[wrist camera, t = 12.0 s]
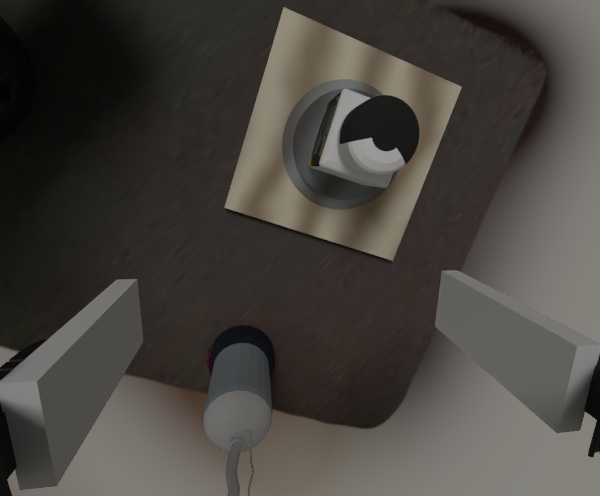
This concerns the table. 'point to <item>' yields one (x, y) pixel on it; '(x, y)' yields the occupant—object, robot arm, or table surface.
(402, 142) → the medicine bottle
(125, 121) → the table surface
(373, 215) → the square wooden board
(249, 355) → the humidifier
